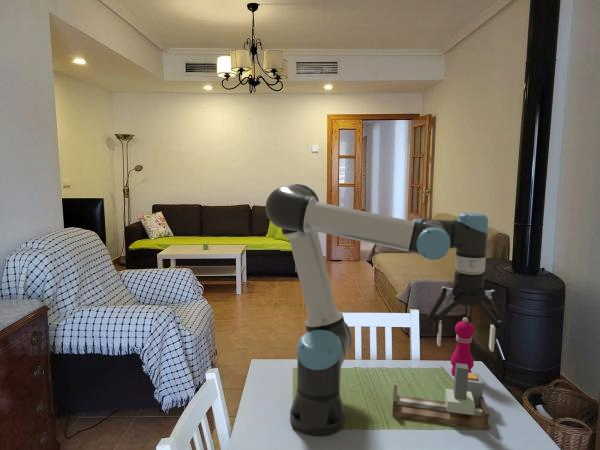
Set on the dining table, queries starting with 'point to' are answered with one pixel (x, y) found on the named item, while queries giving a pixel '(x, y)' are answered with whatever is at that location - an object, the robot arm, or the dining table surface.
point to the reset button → (472, 377)
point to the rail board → (438, 411)
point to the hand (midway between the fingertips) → (464, 346)
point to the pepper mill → (463, 345)
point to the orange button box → (476, 388)
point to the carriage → (460, 393)
